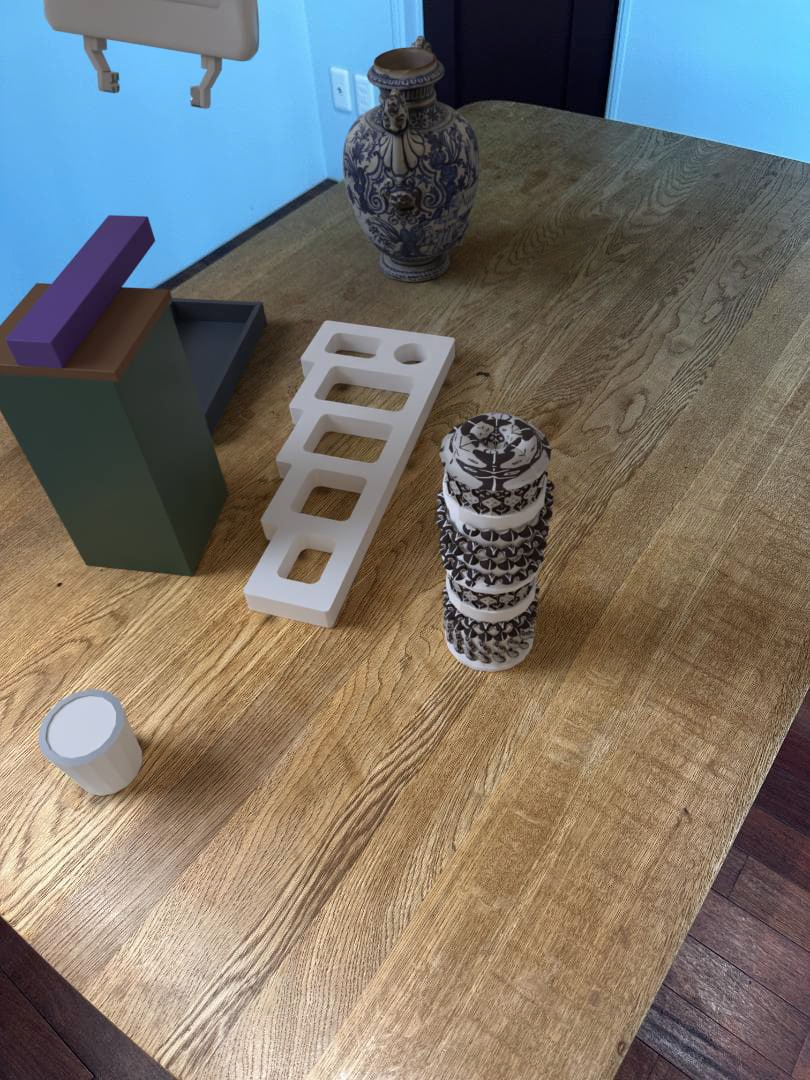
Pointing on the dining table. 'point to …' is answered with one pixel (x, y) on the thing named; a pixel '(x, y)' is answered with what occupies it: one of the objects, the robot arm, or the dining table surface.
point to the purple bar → (81, 293)
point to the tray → (217, 347)
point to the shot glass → (91, 742)
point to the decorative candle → (493, 537)
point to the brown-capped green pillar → (119, 437)
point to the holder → (343, 461)
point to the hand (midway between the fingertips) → (154, 99)
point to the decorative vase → (411, 167)
